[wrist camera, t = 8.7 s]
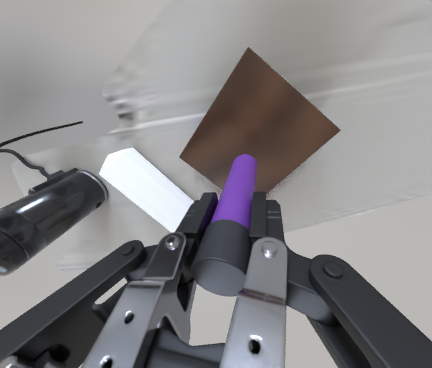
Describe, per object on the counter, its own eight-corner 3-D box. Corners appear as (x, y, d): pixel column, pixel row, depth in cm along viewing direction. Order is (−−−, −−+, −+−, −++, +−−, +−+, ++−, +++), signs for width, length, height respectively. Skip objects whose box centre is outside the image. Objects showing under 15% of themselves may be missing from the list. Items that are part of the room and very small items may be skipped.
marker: (226, 166, 17) (180, 274, 7) (243, 147, 15) (211, 249, 6) (246, 181, 17) (225, 302, 8) (264, 164, 16) (264, 285, 6)
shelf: (197, 140, 30) (178, 157, 23) (252, 56, 23) (248, 46, 16) (251, 181, 32) (248, 208, 25) (319, 116, 24) (340, 130, 18)
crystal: (93, 175, 34) (184, 248, 39) (87, 164, 28) (196, 251, 33) (122, 152, 38) (203, 221, 43) (122, 137, 32) (217, 220, 37)
